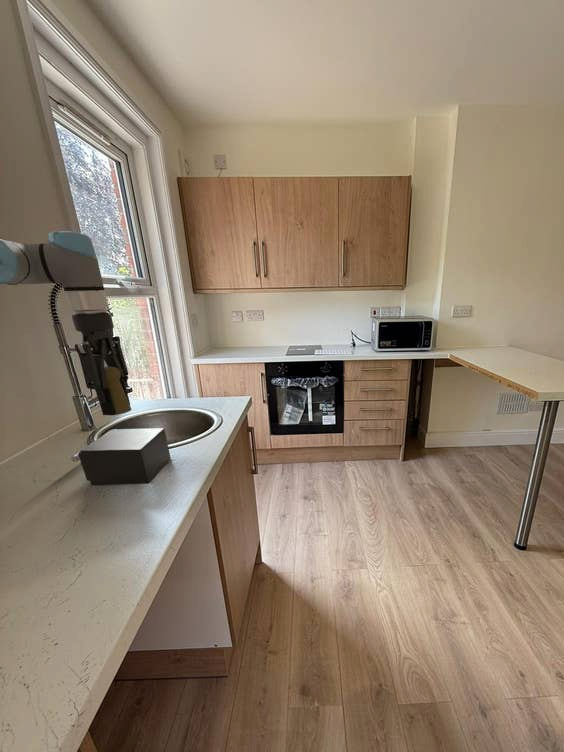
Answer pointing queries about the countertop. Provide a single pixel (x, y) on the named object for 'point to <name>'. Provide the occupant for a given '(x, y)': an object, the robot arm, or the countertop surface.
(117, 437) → the cabinet
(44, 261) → the robot arm
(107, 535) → the countertop surface
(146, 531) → the countertop surface
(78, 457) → the drawer
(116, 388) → the cork
